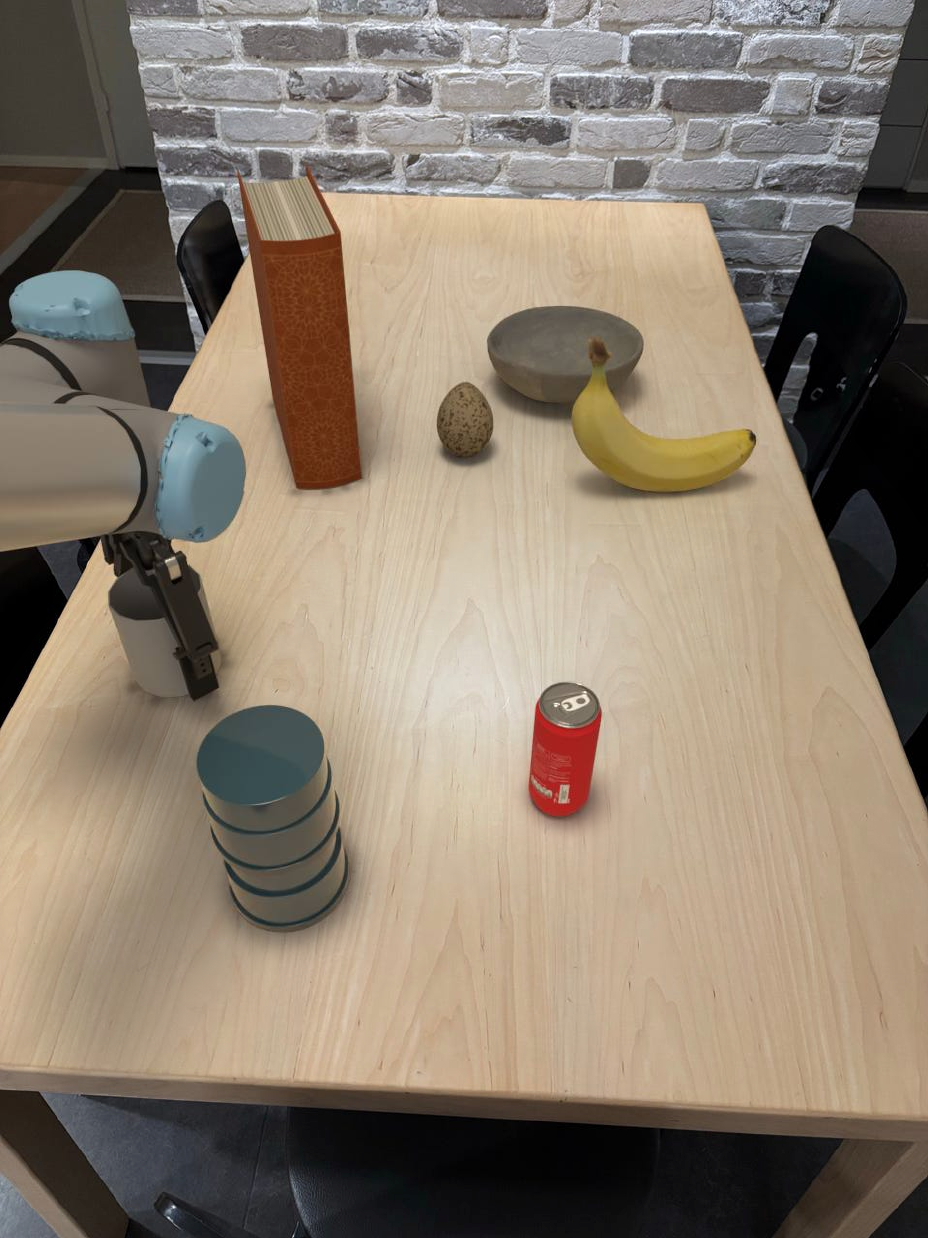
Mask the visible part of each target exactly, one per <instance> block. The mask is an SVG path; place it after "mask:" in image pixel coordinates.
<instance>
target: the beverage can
mask: <svg viewBox="0 0 928 1238" xmlns="http://www.w3.org/2000/svg"><path fill="white" fill-rule="evenodd" d="M602 718H603V710H602V707H601V704H600V700H599V698H598V696H597V695H596V693H595V692H594V691H593V690H592V689H590V688H589V686H586V685H584V684H582V683H579V682H575V681H561V682H559V681H558V682H556V683H553V684H551V685H549V686H548V687H546V688H545V689H544V690H543V691H542V693H541V694H540V696H539V698H538V700H537V701H536V704H535V708H534V718H533V719H534V720H533V731H532V743H531V744H532V745H531V753H530V766H529V767H530V768H529V776H528V777H529V778H528V791H529V795H530V797H531V799H532V800H533V802H534V804H535V806H536V807H537V809H539V810H540V811H541V812H542V813H544V814H546V815H548V816H551V817H555V818H564V817H568V816H572V815H573V814H575V813H576V812H578V811H579V810H580V809H581V808H582V807H583V806H584V805H585V804H586V802H587V801H588V798H589V796H590V792H591V791H590V790H591V783H592V778H593V773H594V767H595V760H596V754H597V749H598V742H599V736H600V729H601V723H602Z"/></svg>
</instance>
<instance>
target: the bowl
mask: <svg viewBox="0 0 928 1238" xmlns="http://www.w3.org/2000/svg"><path fill="white" fill-rule="evenodd" d="M593 337H594V338H595V337H596V338H602V339H603V340H604V343H605V347H606V349H608V350H609V351H610V352H611V354H612V357H611V358H609V359H608V360H607V362H606V365H605V376H606V382H607V386H608V388H609V390H610V392H611V393H612V392H613V391H614V390H616V389H618V388H619V387H620V386H621V385H623V384H624V383H625V381H626V380H627V379H628V378H629V377H630V376H631V374H632V373H633V371H634V370H635V368H636V367H637V365H638V364H639V361H640V360H641V357H642V355H643V353H644V352H643V351H644V346H645V344H644V338H643V335H642V333H641V332H640V330H639V329H638V328H637V327H636V326H635V325H633V324H632V323H630V322H629V321H627V320H625V319H624V318H622V317H620V316H617V315H615V314H613V313H610V312H607V311H604V310H599V309H594V308H590V307H583V306H575V305H545V306H535V307H531V308H527V309H523V310H521V311H517V312H514V313H512V314H510V315H507V316H506V317H505V318H503V319H502V320H500V321H499V322H498V323H497V324H496V325H495V326H493V328H492V329H491V331H490V332H489V334H488V336H487V338H486V343H487V347H486V348H487V353H488V354H487V355H488V359H489V360H490V363H491V365H492V368H493V369H494V371H495V373H497V375H498V376H499V377H500V378H501V380H503V381H504V382H505V383H506V384H507V385H508V386H509V387H511V388H512V389H513V390H514V391H517V392H519V393H520V394H522V395H524V396H525V397H527V398H529V399H532V400H534V401H538V402H546V403H550V404H551V403H552V404H575V402H576V400H577V399H578V397H579V396H580V394H581V393H582V392H583V390H584V389H585V388H586V387H587V385H588V383H589V381H590V379H591V376H592V372H593V366H592V363H591V361H590V359H589V358H588V354H589V350H588V340H589V339H591V338H593Z"/></svg>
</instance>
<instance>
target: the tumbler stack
mask: <svg viewBox="0 0 928 1238" xmlns="http://www.w3.org/2000/svg"><path fill="white" fill-rule="evenodd" d="M195 760H196V761H195V763H196V764H195V765H196V766H195V767H196V773H197V777H198V779H199V782H200V785H201V788H202V789H201V791H202V801H203V805H204V808H205V811H206V814H207V817H208V820H209V826H210V827H209V828H210V829H209V830H210V834H211V839H212V842H213V844H214V847H215V850H216V851H217V853H218V854H219V856H220V857H221V858H222V862H223V865H224V868H225V872H226V876H227V879H228V888H229V892H230V896H231V899H232V902H233V904H234V906H235V908H236V910H237V911H238V913H239V914H240V915H241V916H242V917H243V919H245V920H246V921H247V922H248V923H250V924H251V925H253V926H255V927H257V928H260V929H262V930H265V931H268V932H269V931H270V932H276V933H289V932H296V931H299V930H304V929H306V928H309V927H311V926H314V925H315V924H317V923H319V922H320V921H322V920H324V919H325V918H326V917H327V916H329V915H330V914H331V913H332V912H333V911H334V910H335V909H336V907H338V905H339V904H340V902H341V901H342V899H343V897H344V895H345V894H346V892H347V888H348V885H349V881H350V865H349V864H350V863H349V858H348V854H347V851H346V849H345V847H344V842H343V836H342V830H341V827H340V823H341V805H340V800H339V795H338V793H337V791H336V789H335V783H334V777H333V771H332V767H331V763H330V761H329V758H328V756H327V751H326V747H325V740H324V736H323V733H322V731H321V729H320V727H319V726H318V724H316V722H315V721H314V720H313V719H312V718H311V717H310V716H308V715H307V714H305V713H304V712H302V711H300V710H298V709H296V708H292V707H289V706H286V705H277V704H263V705H256V706H250V707H247V708H243V709H241V710H238V711H236V712H233V713H231V714H229V715H228V716H226V717H225V718H223V719H221V720H220V721H218V722H217V723H216V724H215V725H214V726H213V727H212V728H211V729H210V730H209V731H208V733H207V734H206V735H205V736H204V738H203V739H202V741H201V743H200V744H199V748H198V751H197V754H196V759H195Z"/></svg>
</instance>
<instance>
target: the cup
mask: <svg viewBox="0 0 928 1238" xmlns="http://www.w3.org/2000/svg"><path fill="white" fill-rule="evenodd" d="M188 567H189V571H190V575H191V578H192V580H193V583H194V585H195V588H196V591H197V593H198V596H199V598H200V601H201V603H202V606H203V608H204V611H205V614H206V616H207V619H208V621H209V624H210V626H211V629H212V632H213V634H214V637H215V639H216V641H217V643H218V647H219V650H217V651H215V652H213V653H211V658H212V662H213V666H214V669H215V673H216V676H217V675H218V673H219V670H220V669H221V666H222V664H223V661H222V656H221V649H220V646H219V642H218V638H217V634H216V629H215V626H214V622H213V619H212V614H211V611H210V607H209V602H208V599H207V595H206V592H205V591H206V590H205V587H204V584H203V580H202V575H201V574H200V573H199V572H198V571H197V570H196V569H195V568H193V567H192V566H191V564H188ZM153 570H154V569H152V570H149V571H146V573H147V575H148V576H150V575H152V574H154V572H153ZM107 606H108V609H109V611H110V615H111V616H112V619H113V622H114V625H115V628H116V631H117V633H118V636H119V639H120V641H121V644H122V647H123V650H124V653H125V655H126V658H127V661H128V665H129V667H130V670H131V672H132V674H133V678H134V680H135V683H137V685H138V686H139V687H140V688H141V689H142V690H143V691H144V692H145V693H147V694H150V695H153V696H156V697H159V698H176V697H177V698H179V697H184V696H187V695H189V693H188V689H187V686H186V683H185V679H184V676H183V673H182V669H181V666H180V663H179V660H176V659H175V657H174V656H173V654H172V653H174V652H176V650H175V648H177V647H179V646H178V644H177V642H176V640H175V638H174V636H173V634H172V632H171V630H170V628H169V626H168V624H167V622H166V620H165V617H164V615H163V613H162V611H161V609H160V607H159V605H158V603H157V601H156V599H155V597H154V595H153V593H152V591H151V589H150V587H149V586H144V585H142V583H141V581H140V579H139V577H138V575H137V573H136V571H135V569H134V567H133V568H131V569H130V570H128V571H127V572H126V573H124V574H123V575H121V576H120V577H118V578H117V577H116V579H115V580H114V582H113V583H112V585H111V586H110V587H109V590H108V591H107Z"/></svg>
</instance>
